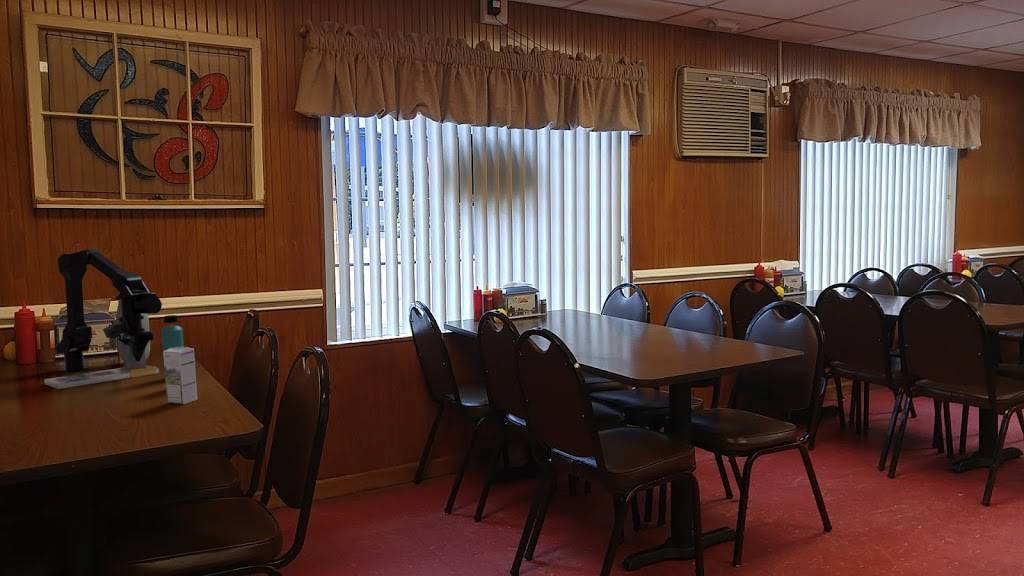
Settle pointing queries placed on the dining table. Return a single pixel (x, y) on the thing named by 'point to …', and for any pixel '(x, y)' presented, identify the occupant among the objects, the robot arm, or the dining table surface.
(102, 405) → the dining table surface
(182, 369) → the syrup box
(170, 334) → the beverage bottle
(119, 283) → the robot arm
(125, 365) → the steel block
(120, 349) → the glass bottle
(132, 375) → the white flat frame
